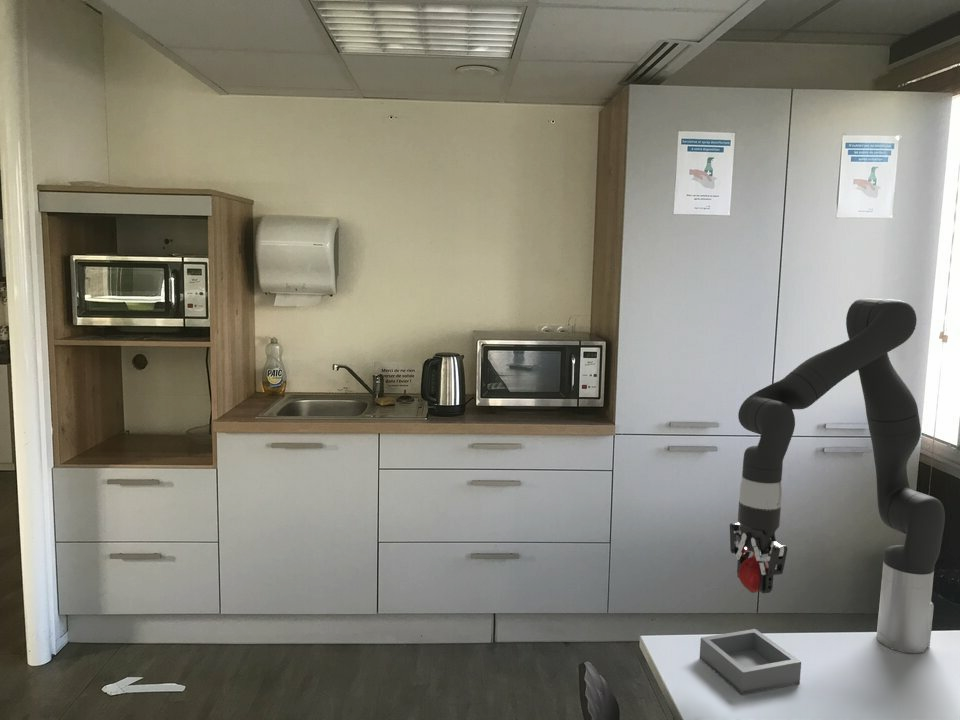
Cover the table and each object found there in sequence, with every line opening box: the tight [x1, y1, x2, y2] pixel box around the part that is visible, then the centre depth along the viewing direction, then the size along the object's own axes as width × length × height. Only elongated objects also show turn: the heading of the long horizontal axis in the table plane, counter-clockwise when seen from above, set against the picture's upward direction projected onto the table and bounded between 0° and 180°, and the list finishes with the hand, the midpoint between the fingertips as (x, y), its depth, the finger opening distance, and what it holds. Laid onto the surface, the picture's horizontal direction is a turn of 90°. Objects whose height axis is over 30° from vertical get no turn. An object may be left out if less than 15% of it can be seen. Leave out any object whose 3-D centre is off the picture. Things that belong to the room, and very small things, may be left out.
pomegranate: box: [737, 552, 769, 594], centre depth 139 cm, size 6×6×8 cm
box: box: [699, 628, 802, 696], centre depth 141 cm, size 13×13×4 cm
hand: (753, 584), depth 139 cm, fingers closed on pomegranate, 6 cm apart
